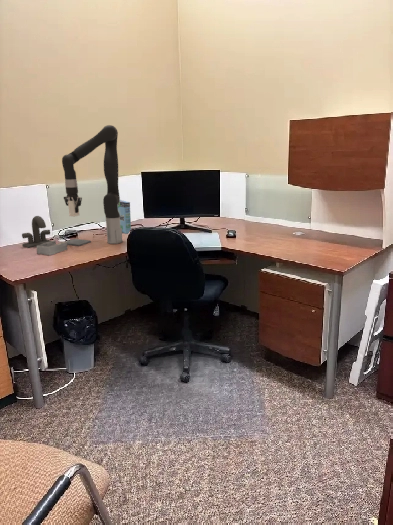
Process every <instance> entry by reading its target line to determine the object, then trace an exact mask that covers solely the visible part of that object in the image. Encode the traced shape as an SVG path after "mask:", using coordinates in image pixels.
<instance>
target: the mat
mask: <svg viewBox="0 0 393 525" xmlns="http://www.w3.org/2000/svg"><path fill="white" fill-rule="evenodd" d="M65 242H67V246H73V247H74V246H75V247H81V246H84V245H87V244H90V243H92V240H88V239H82V238H81V239H80V238H72V239H70V240H67V241H65Z"/></svg>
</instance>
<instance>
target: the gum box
mask: <svg viewBox="0 0 393 525" xmlns="http://www.w3.org/2000/svg"><path fill="white" fill-rule="evenodd" d="M117 206H118V212H119V214H120V228H122V234H125V235H126V234H127V235H128V234H130V233H129V231H130V230H131V231H132V220H131V202H130V201H126V200H122V199H120V201H119V203H118V205H117Z"/></svg>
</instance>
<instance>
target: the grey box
mask: <svg viewBox="0 0 393 525" xmlns="http://www.w3.org/2000/svg"><path fill="white" fill-rule="evenodd" d="M35 248H36V254H37V255H43V254H44V256H53V255H55V254H58V253H61V252H64V251H67V250H68V245H67V242H66V241H63V242H61V243H60V242H59V243H57V241H56V240H55V239H53V240H50V242H47V243H43V244H40V245H37V246H36V247H35Z"/></svg>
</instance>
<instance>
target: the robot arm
mask: <svg viewBox="0 0 393 525" xmlns="http://www.w3.org/2000/svg"><path fill="white" fill-rule="evenodd" d="M118 133H119V132H118V129H117V128H116V127H115V126H114V125H110V124H108V125H105V126H104V127H103V128H102V129H101V130H100V131H99V132H98V133H96V134H95V135H94V136H93V137H91V138H89V139H88V140H86V141H85V142H82V144H80V145H78V146H77V147H76V148H75V149H74V150H73V151H71V152H70V153H67V154H65V155H63V156H62V159H61V163H62V168H63V171H64V180H65V181H64V186H65V194H66V195H65V196H63V200H64V203H65V206H68V201H74V205H75V213H78V212H79V213H80V209H79V210H78V207H80V206H82V205H81V204H82V201H83V197H82V196H79V195H78V193H79V190H78V189H79V188H78V180H77V172H76V170H75V166H74V165H75V164H76V163H78V162H79V161H80V160H81V159H83V158H85V157H86V156H88V155H89V154H91V153H92V152H93V151H94V150H96V149H97V148H98V147H100V146H101V145H103V144H104V146H105V147H104V148H105V149H104V157H103V173H104V174H103V175H104V178H105V181H106V184H107V192H106V194H105V196H103V201H102V204H103V212H104V215H105V226H106V239H107V244H111V245H117V244H120V243H123V242H124V241H123V240H124V239H123V232H122V228H120V214H119V212H118V206H117V205H118V203H119V201H120V200H121V199H120V198H121V197H120V189H119V157H118V156H119V155H118V135H119V134H118ZM76 201H77V202H76ZM68 207H69V206H68Z"/></svg>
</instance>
